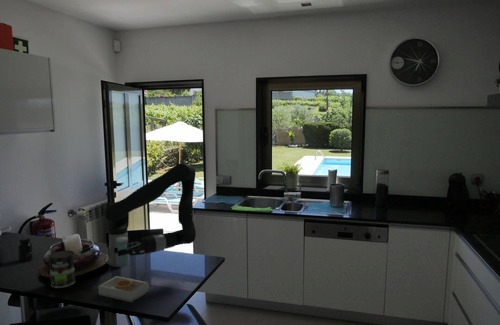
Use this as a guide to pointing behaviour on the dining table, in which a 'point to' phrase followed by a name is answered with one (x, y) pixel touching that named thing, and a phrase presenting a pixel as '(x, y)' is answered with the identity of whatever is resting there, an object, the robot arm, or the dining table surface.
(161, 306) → the dining table surface
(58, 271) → the coffee can
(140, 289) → the open box
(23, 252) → the supplement bottle
